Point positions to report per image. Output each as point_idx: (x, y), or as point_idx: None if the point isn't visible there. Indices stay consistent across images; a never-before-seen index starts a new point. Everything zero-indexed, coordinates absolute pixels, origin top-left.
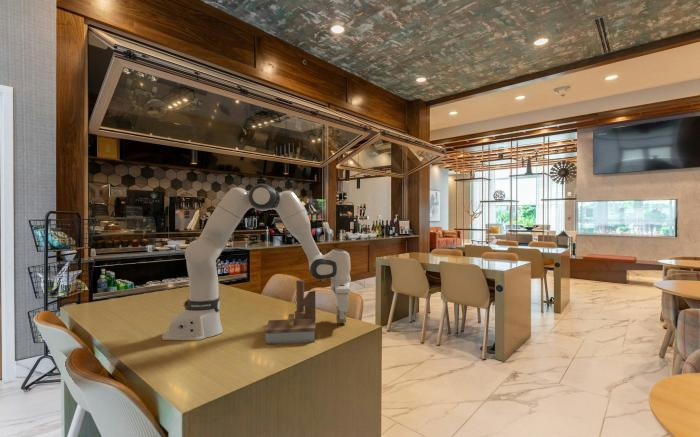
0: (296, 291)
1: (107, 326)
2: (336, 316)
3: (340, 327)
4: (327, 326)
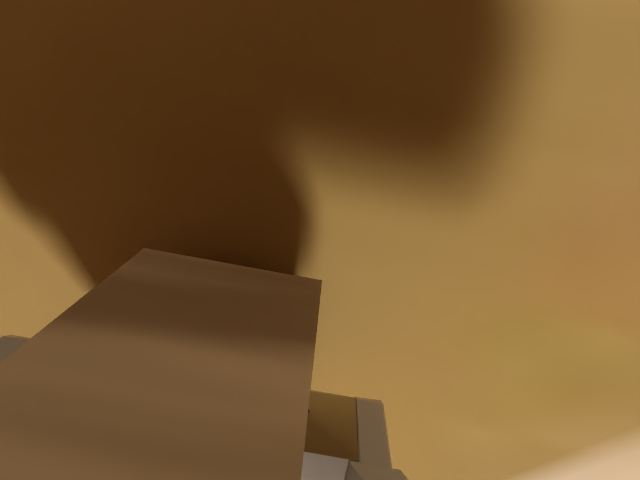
0: None
1: None
2: (294, 319)
3: (46, 258)
4: (143, 41)
